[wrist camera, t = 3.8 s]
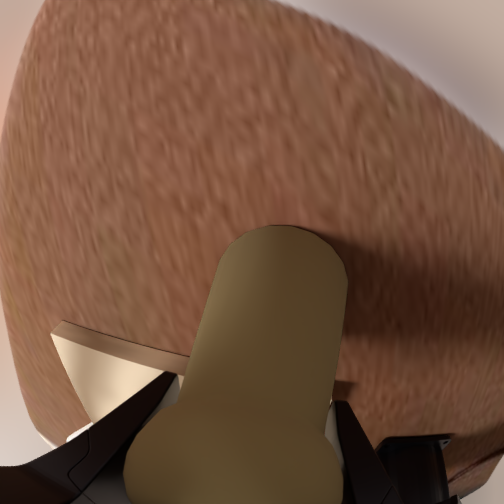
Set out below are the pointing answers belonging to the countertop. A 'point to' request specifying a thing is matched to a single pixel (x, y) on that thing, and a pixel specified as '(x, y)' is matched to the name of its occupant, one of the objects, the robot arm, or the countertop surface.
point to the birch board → (110, 367)
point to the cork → (253, 384)
